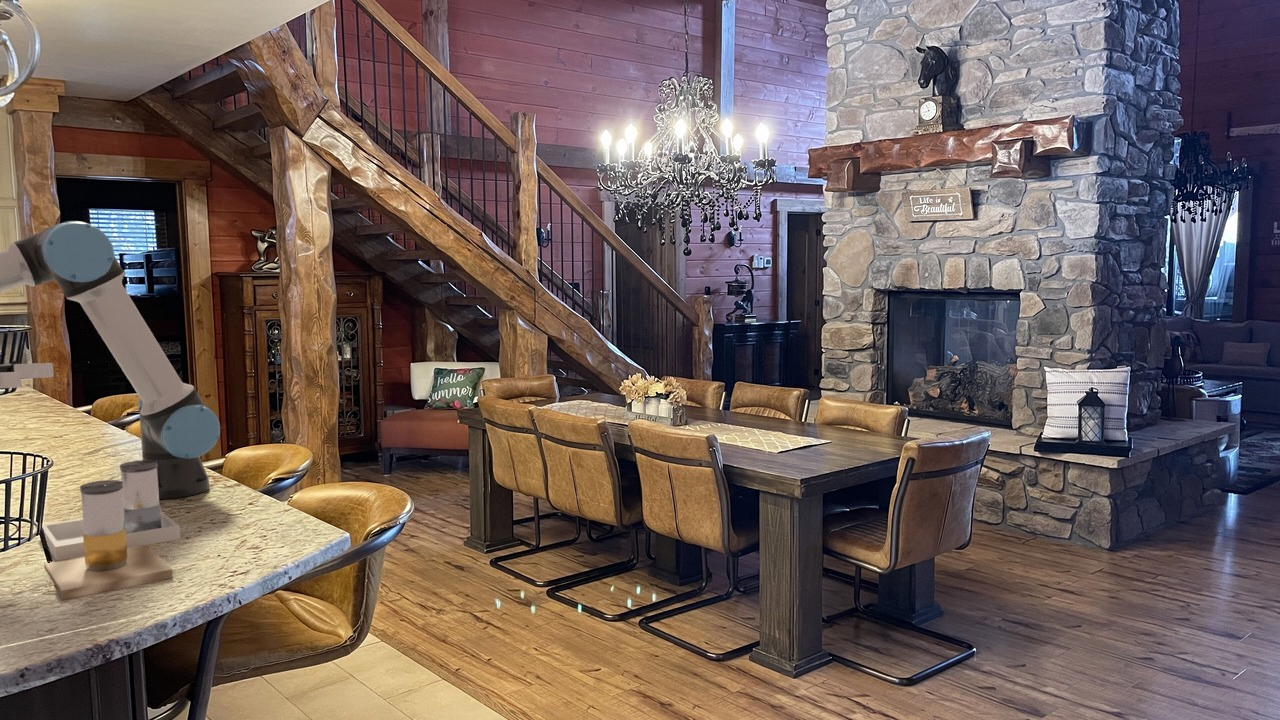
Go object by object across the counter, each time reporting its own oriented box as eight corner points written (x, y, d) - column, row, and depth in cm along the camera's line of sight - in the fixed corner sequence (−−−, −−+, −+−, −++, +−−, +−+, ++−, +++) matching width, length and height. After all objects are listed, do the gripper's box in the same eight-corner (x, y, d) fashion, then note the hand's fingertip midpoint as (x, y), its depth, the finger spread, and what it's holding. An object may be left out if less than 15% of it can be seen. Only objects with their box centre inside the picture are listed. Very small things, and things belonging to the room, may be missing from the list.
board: (147, 552, 175) (146, 544, 175) (172, 577, 161) (172, 569, 161) (44, 571, 165) (44, 562, 165) (62, 600, 151) (61, 590, 151)
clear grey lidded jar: (157, 530, 186) (153, 458, 184) (165, 537, 181) (161, 464, 179) (121, 536, 182) (116, 463, 180) (128, 544, 177) (123, 469, 175)
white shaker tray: (157, 524, 193) (156, 507, 193) (180, 544, 180) (179, 525, 179) (41, 543, 181) (40, 525, 180) (56, 566, 167) (55, 547, 167)
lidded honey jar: (123, 557, 167) (118, 478, 166) (131, 566, 162) (126, 485, 161) (82, 565, 163) (76, 484, 162) (89, 574, 158) (83, 491, 157)
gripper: (-53, 390, 186) (66, 385, 190) (-132, 411, 162) (7, 405, 166) (-57, 351, 186) (62, 347, 189) (-137, 367, 161) (2, 362, 165)
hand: (37, 374), depth 177 cm, fingers open, 13 cm apart
